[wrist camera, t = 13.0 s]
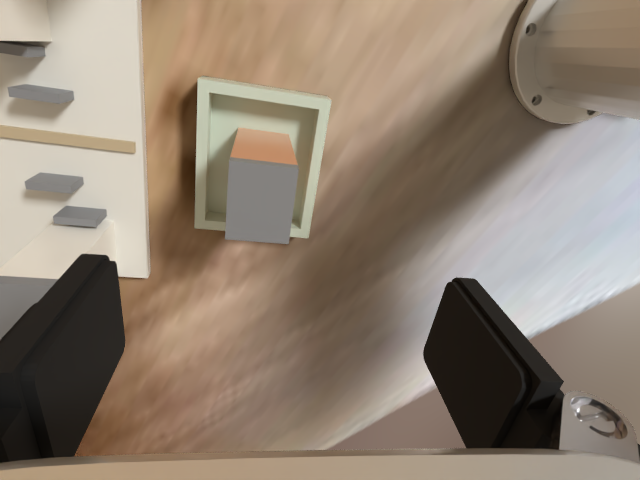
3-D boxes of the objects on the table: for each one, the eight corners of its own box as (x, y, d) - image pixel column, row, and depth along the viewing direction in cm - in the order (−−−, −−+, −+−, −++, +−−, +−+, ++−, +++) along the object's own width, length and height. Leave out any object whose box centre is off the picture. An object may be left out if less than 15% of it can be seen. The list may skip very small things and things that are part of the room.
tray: (326, 95, 31) (331, 99, 28) (305, 226, 36) (308, 238, 33) (202, 75, 29) (197, 78, 26) (198, 216, 34) (194, 228, 31)
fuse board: (139, -45, 25) (123, -56, 22) (150, 276, 36) (141, 296, 33) (-76, -91, 23) (-124, -110, 20) (5, 268, 33) (-18, 288, 31)
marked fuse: (288, 134, 31) (299, 168, 22) (281, 191, 33) (288, 244, 24) (238, 127, 30) (229, 160, 21) (234, 187, 32) (224, 239, 24)
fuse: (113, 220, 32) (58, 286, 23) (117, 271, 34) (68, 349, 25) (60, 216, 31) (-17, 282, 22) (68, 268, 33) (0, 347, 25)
